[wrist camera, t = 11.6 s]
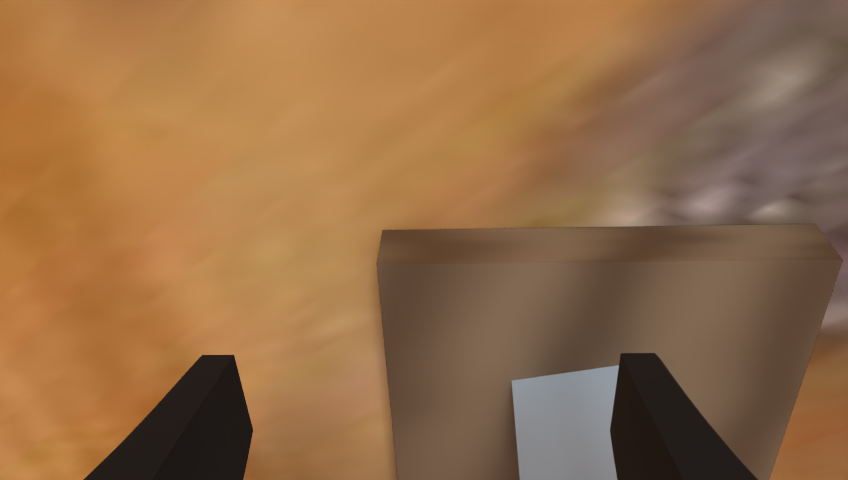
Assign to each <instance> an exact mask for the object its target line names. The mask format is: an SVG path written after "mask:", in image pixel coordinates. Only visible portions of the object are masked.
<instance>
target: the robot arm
mask: <svg viewBox="0 0 848 480" xmlns="http://www.w3.org/2000/svg"><path fill="white" fill-rule="evenodd" d="M252 433H253V428H252V424H251V420H250V417H249V413H248V409H247V405H246V401H245V397H244V393H243V389H242V385H241V381H240V377H239V373H238V369H237V365H236V361H235V357H234V355H202V356H201V357H200V358H199V359H198V360H197V361H196V362H195V363H194V365H193V366H192V367H191V368H190V369H189V370H188V371H187V372H186V373H185V374H184V376H183V377H182V378H181V379H180V380H179V381H178V382H177V383H176V385H175V386H174V387H173V388H172V389H171V390H170V391H169V392H168V393H167V395H166V396H165V397H164V398H163V399H162V400H161V401H160V402H159V403H158V404H157V406H156V407H155V408H154V409H153V410H152V411H151V412H150V413H149V414H148V415H147V416H146V417H145V418H144V420H143V421H142V422H141V423H140V424H139V425H138V426H137V427H136V428H135V429H134V430H133V431H132V432H131V433H130V434H129V435H128V436H127V438H126V439H125V440H124V441H123V442H122V443H121V444H120V445H119V446H118V447H117V448H116V449H115V450H114V451H113V452H112V453H111V454H110V455H109V456H108V457H106V458H105V459H104V460H103V461H102V462H101V463H100V464H99V465H98V466H97V467H96V468H95V469H94V470H93V471H92V472H91V473H90V474H89V475H88V476H87V477H86V478H85V479H84V480H243V478H244V473H245V468H246V464H247V459H248V454H249V449H250V443H251V438H252ZM610 435H611V442H612V449H613V456H614V462H615V468H616V475H617V480H758V479H757V478H756V477H755V476H754V475H753V474H752V473H751V471H750V470H749V469H748V468H747V467H746V466H745V465H744V464H743V463H742V462H741V460H740V459H739V458H738V457H737V456H736V455H735V454H734V453H733V451H732V450H731V449H730V448H729V447H728V446H727V444H726V443H725V442H724V441H723V440H722V438H721V437H720V436H719V435H718V434H717V432H716V431H715V430H714V429H713V428H712V426H711V425H710V424H709V423H708V422H707V420H706V419H705V418H704V417H703V415H702V414H701V413H700V412H699V410H698V409H697V408H696V406H695V405H694V404H693V402H692V401H691V400H690V399H689V397H688V396H687V395H686V393H685V392H684V391H683V389H682V388H681V387H680V385H679V384H678V383H677V381H676V380H675V378H674V377H673V376H672V374H671V373H670V372H669V370H668V369H667V367H666V366H665V365H664V363H663V362H662V360H661V359H660V358H659V357H658V356H657V355H656V354H655V353H621V355H620V362H619V369H618V376H617V383H616V391H615V398H614V405H613V412H612V419H611V426H610Z"/></svg>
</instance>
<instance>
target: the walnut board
mask: <svg viewBox="0 0 848 480" xmlns="http://www.w3.org/2000/svg"><path fill="white" fill-rule="evenodd" d="M842 261H843V259H842V258H841V256H840V255H839V254H838V253H837V251H836V250H835V249H834V247H833V246H832V245H831V243H830V242H829V241H828V240H827V238H826V237H825V236H824V234H823V233H822V232H821V231H820V229H819V228H818V227H817V225H816V224H783V225H714V226H644V227H575V228H505V229H436V230H382V236H381V242H380V248H379V254H378V260H377V273H378V283H379V294H380V304H381V314H382V324H383V335H384V345H385V355H386V365H387V375H388V386H389V396H390V406H391V416H392V426H393V437H394V447H395V457H396V467H397V478H398V480H520V476H519V464H518V452H517V440H516V428H515V416H514V404H513V392H512V381H513V380H520V379H527V378H534V377H541V376H548V375H555V374H562V373H569V372H576V371H583V370H590V369H596V368H603V367H610V366H617V365H619V362H620V355H621V353H655V354H656V355H657V356H658V357H659V358H660V359H661V360H662V362H663V363H664V365H665V366H666V367H667V369H668V370H669V372H670V373H671V374H672V376H673V377H674V378H675V380H676V381H677V383H678V384H679V385H680V387H681V388H682V389H683V391H684V392H685V393H686V395H687V396H688V397H689V399H690V400H691V401H692V402H693V404H694V405H695V406H696V408H697V409H698V410H699V412H700V413H701V414H702V415H703V417H704V418H705V419H706V420H707V422H708V423H709V424H710V425H711V426H712V428H713V429H714V430H715V431H716V432H717V434H718V435H719V436H720V437H721V438H722V440H723V441H724V442H725V443H726V444H727V446H728V447H729V448H730V449H731V450H732V451H733V453H734V454H735V455H736V456H737V457H738V458H739V459H740V460H741V462H742V463H743V464H744V465H745V466H746V467H747V468H748V469H749V470H750V471H751V473H752V474H753V475H754V476H755V477H756V478H757V479H758V480H769V479H770V476H771V473H772V470H773V467H774V464H775V461H776V458H777V455H778V452H779V449H780V446H781V443H782V440H783V437H784V434H785V431H786V428H787V425H788V422H789V419H790V416H791V413H792V410H793V407H794V404H795V401H796V398H797V395H798V392H799V389H800V386H801V383H802V380H803V377H804V374H805V371H806V368H807V365H808V362H809V360H810V357H811V354H812V351H813V348H814V345H815V342H816V339H817V336H818V333H819V330H820V327H821V324H822V321H823V318H824V315H825V312H826V309H827V306H828V303H829V300H830V297H831V294H832V291H833V288H834V285H835V282H836V279H837V276H838V273H839V270H840V267H841V264H842Z"/></svg>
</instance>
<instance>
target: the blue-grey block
mask: <svg viewBox="0 0 848 480" xmlns="http://www.w3.org/2000/svg"><path fill="white" fill-rule="evenodd" d="M618 369H619V365H617V366H610V367H603V368H596V369H590V370H583V371H576V372H569V373H562V374H555V375H548V376H541V377H534V378H527V379H520V380H513V381H512V392H513V404H514V416H515V428H516V440H517V452H518V464H519V476H520V480H617V475H616V468H615V462H614V456H613V449H612V442H611V435H610V426H611V419H612V412H613V405H614V398H615V391H616V383H617V376H618Z"/></svg>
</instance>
